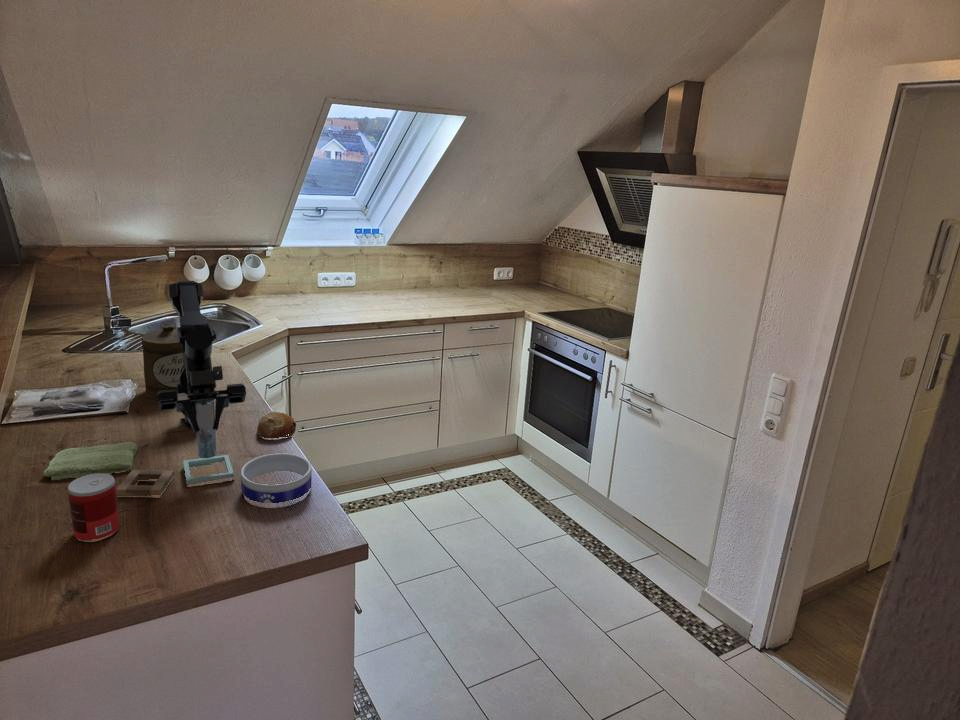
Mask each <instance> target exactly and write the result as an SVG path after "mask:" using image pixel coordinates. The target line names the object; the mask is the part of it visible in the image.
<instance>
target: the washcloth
mask: <svg viewBox="0 0 960 720" xmlns="http://www.w3.org/2000/svg"><path fill="white" fill-rule="evenodd" d="M137 452H138V445H137V444H135V443H134V442H132V441H126V442H125V441H124V442H120V443H115V444H101V445H94V446H86V447H73V448H72V447H71V448H66V449H62V450H60V451H59V452H57V453H56V454H55V455H54V457H53V459H51V460H50V461H49V463H48V467H47V468H46V469H45V470H44V471H43V477H48V478H51V479H50V480H51V481H52V480H58V479H67V478H75V477H81V476H86V475H90V474H97V473H104V474H107V473H115V472H121V471H128V470H131V471H132V470H133V465H134V461H135V460H134V456H135V457H136V454H137ZM128 472H129V471H128ZM67 480H68V479H67ZM58 481H59V480H58Z"/></svg>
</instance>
